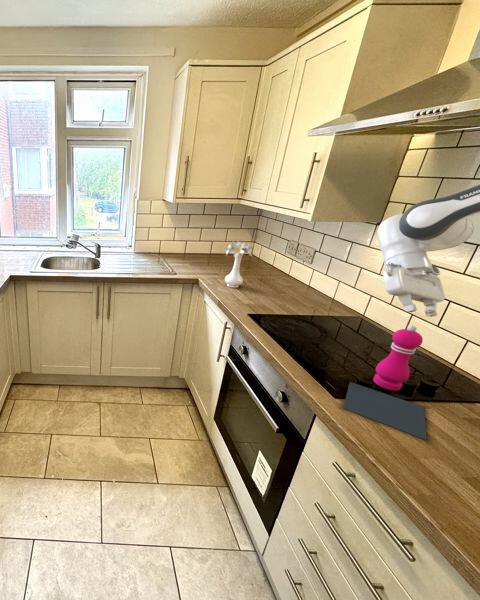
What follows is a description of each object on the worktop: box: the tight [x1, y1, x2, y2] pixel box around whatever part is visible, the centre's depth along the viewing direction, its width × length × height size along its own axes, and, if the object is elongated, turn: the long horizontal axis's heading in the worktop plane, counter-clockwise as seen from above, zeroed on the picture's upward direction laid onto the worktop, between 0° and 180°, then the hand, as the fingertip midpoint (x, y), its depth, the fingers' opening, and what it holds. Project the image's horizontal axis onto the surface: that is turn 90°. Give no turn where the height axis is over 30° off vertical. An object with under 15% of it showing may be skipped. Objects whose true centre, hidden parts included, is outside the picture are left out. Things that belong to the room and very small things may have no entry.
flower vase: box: [224, 240, 253, 289], centre depth 173 cm, size 13×18×25 cm
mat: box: [342, 381, 428, 441], centre depth 86 cm, size 16×16×1 cm
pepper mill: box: [372, 325, 424, 392], centre depth 92 cm, size 7×7×20 cm
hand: (421, 313), depth 87 cm, fingers open, 8 cm apart
